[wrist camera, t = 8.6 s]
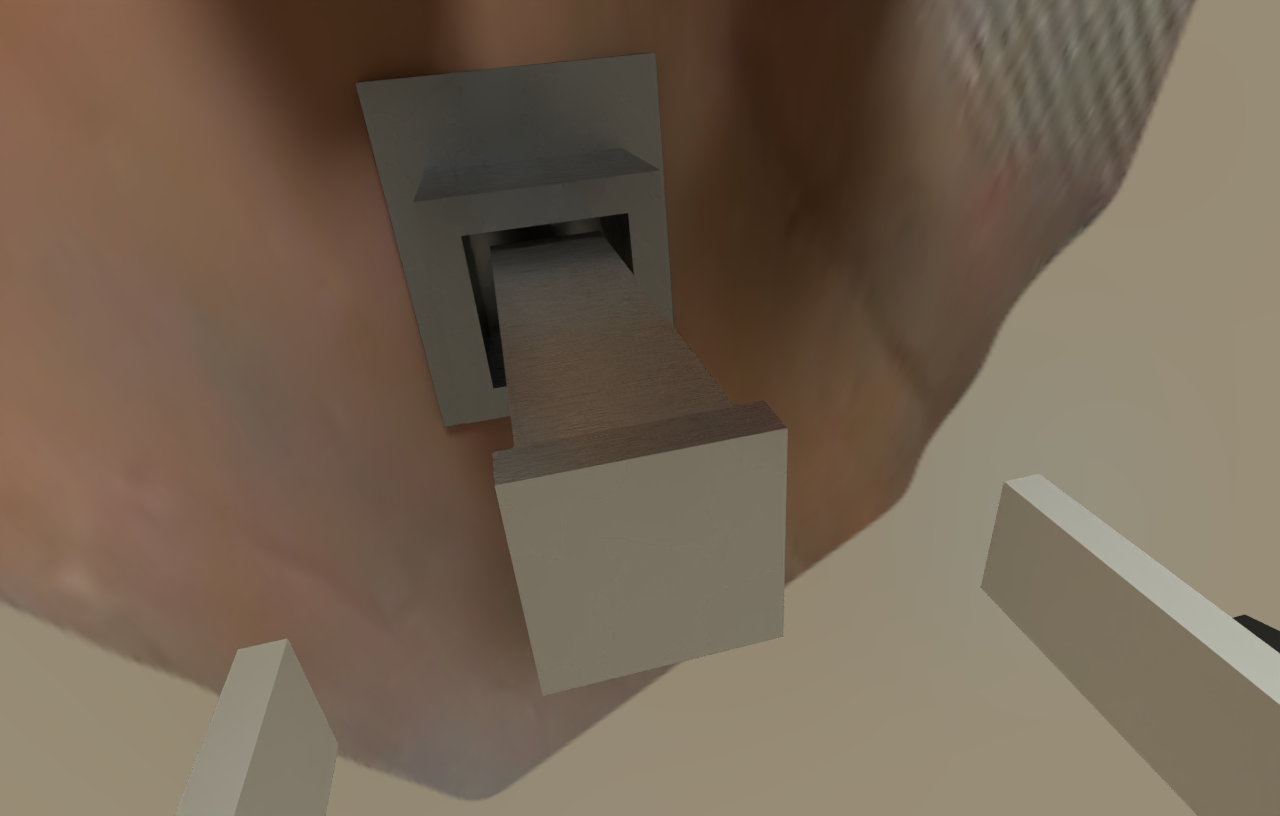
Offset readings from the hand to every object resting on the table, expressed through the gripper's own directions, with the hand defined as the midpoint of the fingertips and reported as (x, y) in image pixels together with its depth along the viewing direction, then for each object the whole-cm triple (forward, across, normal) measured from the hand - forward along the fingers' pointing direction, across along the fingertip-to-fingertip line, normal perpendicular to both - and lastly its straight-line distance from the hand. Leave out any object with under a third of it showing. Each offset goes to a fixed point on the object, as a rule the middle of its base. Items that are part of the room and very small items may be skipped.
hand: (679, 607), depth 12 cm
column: (+21, 0, -1) cm, 21 cm away
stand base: (+28, 0, -1) cm, 28 cm away
